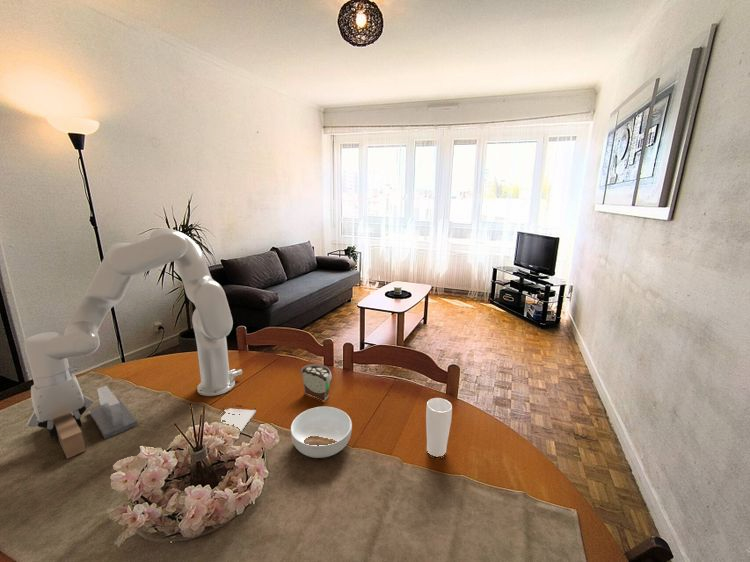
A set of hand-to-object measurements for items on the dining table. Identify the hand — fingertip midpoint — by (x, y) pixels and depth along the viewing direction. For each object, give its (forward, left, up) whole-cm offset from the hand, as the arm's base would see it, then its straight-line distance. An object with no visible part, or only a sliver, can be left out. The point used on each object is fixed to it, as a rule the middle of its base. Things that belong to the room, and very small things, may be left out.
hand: (67, 433), depth 99 cm
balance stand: (-11, 0, -1) cm, 11 cm away
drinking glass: (-65, +84, -1) cm, 106 cm away
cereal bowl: (-46, +58, -2) cm, 74 cm away
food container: (-63, +38, -1) cm, 73 cm away
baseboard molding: (-26, +34, -2) cm, 43 cm away
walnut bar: (0, 0, -1) cm, 1 cm away
